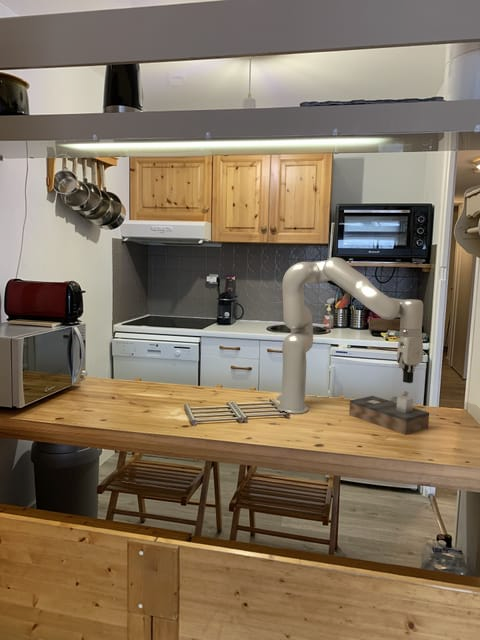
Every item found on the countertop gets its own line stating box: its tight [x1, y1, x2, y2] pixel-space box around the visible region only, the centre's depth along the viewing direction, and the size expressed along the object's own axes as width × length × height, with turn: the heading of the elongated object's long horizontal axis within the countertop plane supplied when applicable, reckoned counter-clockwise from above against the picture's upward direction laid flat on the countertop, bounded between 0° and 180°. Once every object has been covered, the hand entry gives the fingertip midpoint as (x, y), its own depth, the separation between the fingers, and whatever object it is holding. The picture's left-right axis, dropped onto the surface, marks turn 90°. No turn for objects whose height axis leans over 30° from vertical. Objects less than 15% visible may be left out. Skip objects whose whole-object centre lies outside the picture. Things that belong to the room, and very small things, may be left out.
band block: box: [348, 395, 430, 436], centre depth 186 cm, size 26×14×6 cm, turn 36°
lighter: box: [389, 390, 410, 403], centre depth 203 cm, size 7×2×8 cm, turn 78°
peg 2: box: [396, 395, 414, 414], centre depth 180 cm, size 4×4×6 cm
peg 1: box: [366, 400, 381, 404], centre depth 192 cm, size 4×4×6 cm
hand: (407, 382), depth 179 cm, fingers closed
